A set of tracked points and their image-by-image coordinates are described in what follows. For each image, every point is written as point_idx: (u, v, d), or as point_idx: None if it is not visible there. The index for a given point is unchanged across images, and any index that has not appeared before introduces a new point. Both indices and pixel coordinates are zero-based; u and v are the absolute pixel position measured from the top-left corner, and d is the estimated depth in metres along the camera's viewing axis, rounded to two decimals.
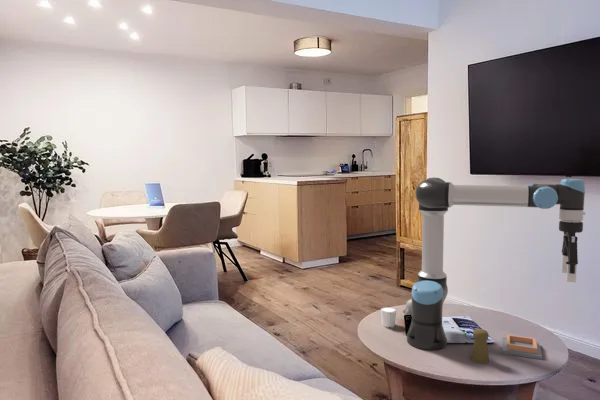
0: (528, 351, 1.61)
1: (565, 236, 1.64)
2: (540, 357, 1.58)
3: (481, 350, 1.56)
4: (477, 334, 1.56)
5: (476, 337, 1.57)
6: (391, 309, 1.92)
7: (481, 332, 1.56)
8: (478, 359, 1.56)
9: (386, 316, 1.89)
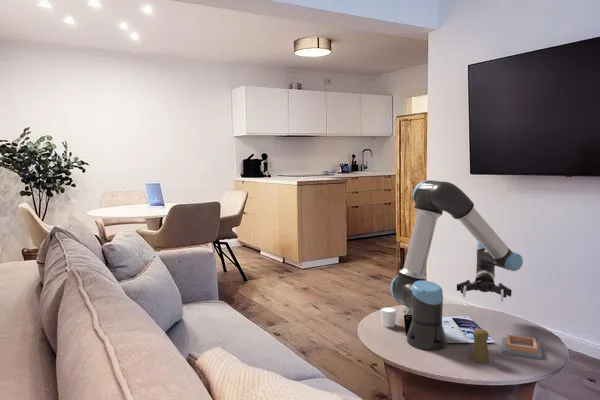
0: (528, 351, 1.61)
1: (482, 281, 1.82)
2: (540, 357, 1.58)
3: (481, 350, 1.56)
4: (477, 334, 1.56)
5: (476, 337, 1.57)
6: (391, 309, 1.92)
7: (481, 332, 1.56)
8: (478, 359, 1.56)
9: (386, 316, 1.89)
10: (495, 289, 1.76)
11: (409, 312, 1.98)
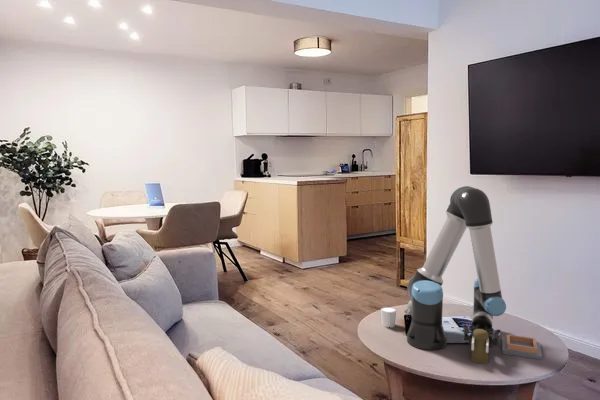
0: (528, 351, 1.61)
1: None
2: (540, 357, 1.58)
3: (481, 350, 1.56)
4: (477, 334, 1.56)
5: (476, 337, 1.57)
6: (391, 309, 1.92)
7: (481, 332, 1.56)
8: (478, 359, 1.56)
9: (386, 316, 1.89)
10: None
11: (410, 312, 1.98)
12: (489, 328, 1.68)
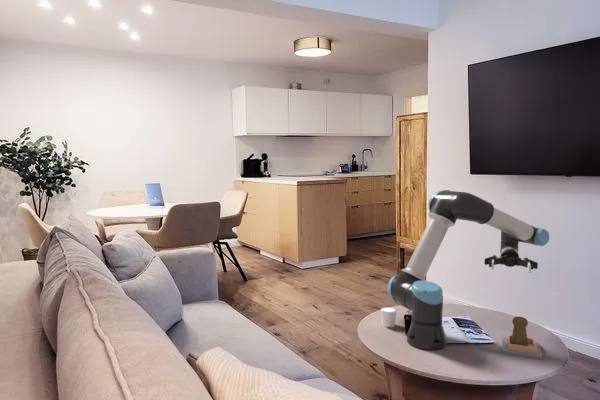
0: (528, 351, 1.61)
1: (508, 256, 1.92)
2: (540, 357, 1.58)
3: (525, 336, 1.64)
4: (521, 322, 1.64)
5: (520, 325, 1.64)
6: (391, 309, 1.92)
7: (523, 319, 1.65)
8: (523, 345, 1.64)
9: (386, 316, 1.89)
10: (521, 262, 1.86)
11: None
12: None
